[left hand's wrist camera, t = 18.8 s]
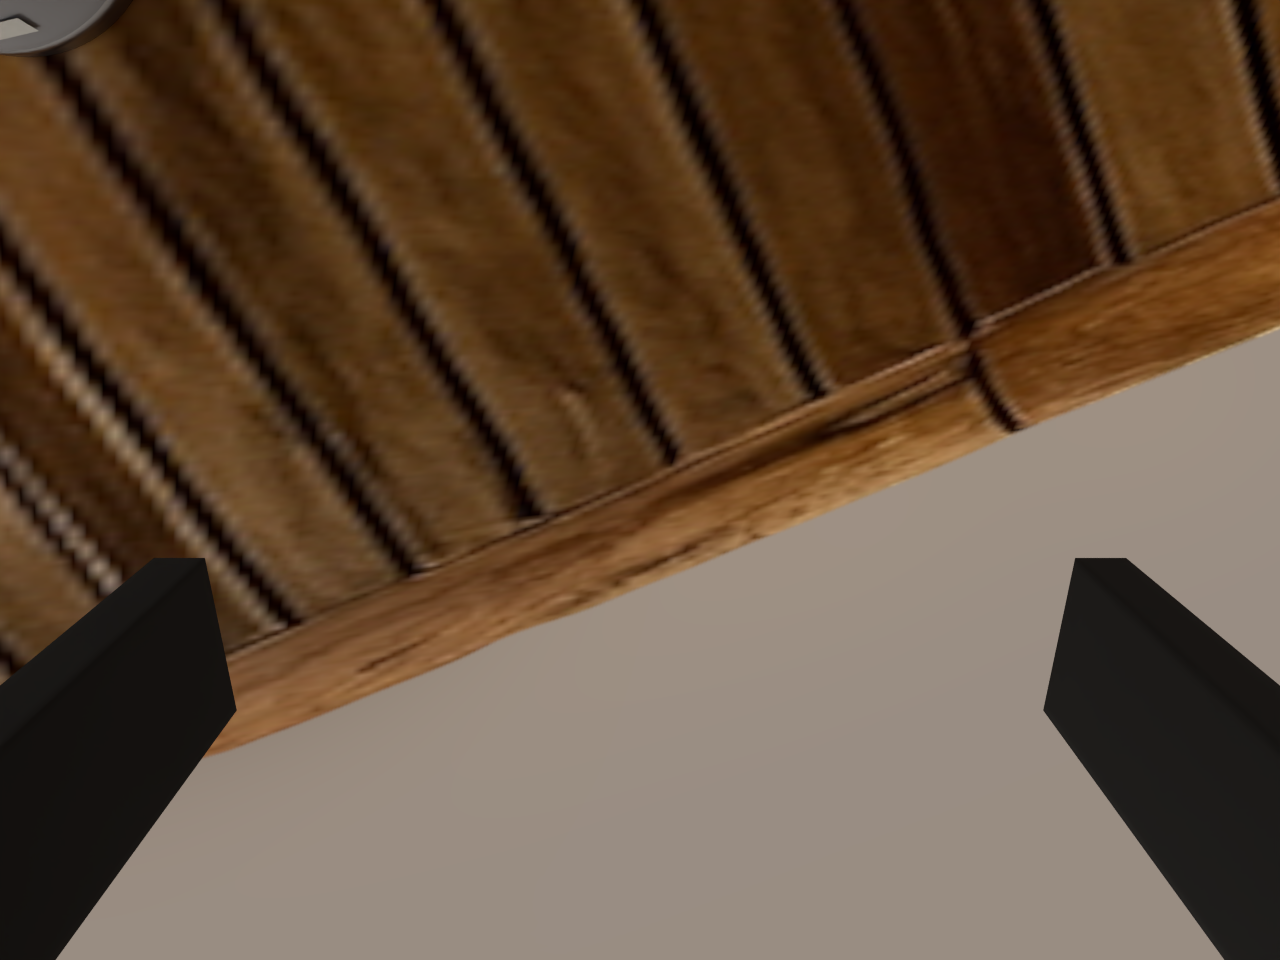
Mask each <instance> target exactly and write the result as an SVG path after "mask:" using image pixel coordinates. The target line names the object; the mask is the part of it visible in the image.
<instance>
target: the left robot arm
mask: <svg viewBox="0 0 1280 960" xmlns="http://www.w3.org/2000/svg"><path fill="white" fill-rule="evenodd" d="M132 1H133V0H0V55H8V56H16V57H38V56H48V55H53V54H58V53H62V52H65V51H68V50H71V49H74V48H77V47H79V46H81V45H83V44H85V43H87V42H89V41H91V40H93V39H94V38H96V37H97V36H99V35H100V34H102V33H103V32H104V31H106V30H107V29H108V28H109V27H110V26H111V25H113V24H114V23H115V22H116V21H117V19H118V18H119V17H120V16H121V15H122V14H123V13H124V12H125V10H126V9H127V8H128V6H129V5H130V3H131V2H132ZM236 711H237V710H236V705H235V700H234V695H233V691H232V686H231V681H230V676H229V672H228V667H227V662H226V657H225V652H224V648H223V643H222V638H221V633H220V629H219V624H218V619H217V614H216V609H215V605H214V600H213V595H212V590H211V586H210V581H209V576H208V571H207V567H206V562H205V558H153V559H152V560H151V561H150V562H149V563H147V564H146V565H145V566H144V567H143V568H141V569H140V570H139V571H138V572H137V573H135V574H134V575H133V576H132V577H131V578H129V579H128V580H127V581H126V582H125V583H123V584H122V585H121V586H120V587H119V588H117V589H116V590H115V591H114V592H113V593H111V594H110V595H109V596H108V597H106V598H105V599H104V600H103V601H102V602H100V603H99V604H98V605H97V606H96V607H94V608H93V609H92V610H91V611H90V612H88V613H87V614H86V615H85V616H84V617H82V618H81V619H80V620H79V621H78V622H76V623H75V624H74V625H73V626H72V627H70V628H69V629H68V630H67V631H66V632H64V633H63V634H62V635H61V636H59V637H58V638H57V639H56V640H55V641H53V642H52V643H51V644H50V645H49V646H47V647H46V648H45V649H44V650H43V651H41V652H40V653H39V654H38V655H37V656H35V657H34V658H33V659H32V660H31V661H29V662H28V663H27V664H26V665H25V666H23V667H22V668H21V669H20V670H18V671H17V672H16V673H15V674H14V675H12V676H11V677H10V678H9V679H8V680H6V681H5V682H4V683H3V684H2V685H0V960H56V958H57V957H58V956H59V954H60V953H61V952H62V950H63V949H64V947H65V946H66V945H67V943H68V942H69V941H70V939H71V938H72V936H73V935H74V934H75V932H76V931H77V930H78V928H79V927H80V925H81V924H82V923H83V921H84V920H85V918H86V917H87V916H88V914H89V913H90V912H91V910H92V909H93V907H94V906H95V905H96V903H97V902H98V901H99V899H100V898H101V896H102V895H103V894H104V892H105V891H106V890H107V888H108V887H109V885H110V884H111V883H112V881H113V880H114V879H115V877H116V876H117V874H118V873H119V872H120V870H121V869H122V868H123V866H124V865H125V863H126V862H127V861H128V859H129V858H130V857H131V855H132V854H133V852H134V851H135V850H136V848H137V847H138V846H139V844H140V843H141V841H142V840H143V839H144V837H145V836H146V834H147V833H148V832H149V830H150V829H151V828H152V826H153V825H154V823H155V822H156V821H157V819H158V818H159V817H160V815H161V814H162V812H163V811H164V810H165V808H166V807H167V806H168V804H169V803H170V801H171V800H172V799H173V797H174V796H175V795H176V793H177V792H178V790H179V789H180V788H181V786H182V785H183V784H184V782H185V781H186V779H187V778H188V777H189V775H190V774H191V773H192V771H193V770H194V768H195V767H196V766H197V764H198V763H199V761H200V760H201V759H202V757H203V756H204V755H205V753H206V752H207V750H208V749H209V748H210V746H211V745H212V744H213V742H214V741H215V739H216V738H217V737H218V735H219V734H220V733H221V731H222V730H223V728H224V727H225V726H226V724H227V723H228V722H229V720H230V719H231V717H232V716H233V715H234V713H235V712H236ZM1044 712H1045V713H1046V715H1047V716H1048V717H1049V719H1050V720H1051V722H1052V723H1053V724H1054V726H1055V727H1056V728H1057V730H1058V731H1059V733H1060V734H1061V735H1062V737H1063V738H1064V739H1065V741H1066V742H1067V744H1068V745H1069V746H1070V748H1071V749H1072V750H1073V752H1074V753H1075V755H1076V756H1077V757H1078V759H1079V760H1080V762H1081V763H1082V764H1083V766H1084V767H1085V768H1086V770H1087V771H1088V772H1089V774H1090V775H1091V777H1092V778H1093V779H1094V781H1095V782H1096V784H1097V785H1098V786H1099V788H1100V789H1101V790H1102V792H1103V793H1104V795H1105V796H1106V797H1107V799H1108V800H1109V801H1110V803H1111V804H1112V806H1113V807H1114V808H1115V810H1116V811H1117V812H1118V814H1119V815H1120V817H1121V818H1122V819H1123V821H1124V822H1125V823H1126V825H1127V826H1128V828H1129V829H1130V830H1131V832H1132V833H1133V834H1134V836H1135V837H1136V839H1137V840H1138V841H1139V843H1140V844H1141V845H1142V847H1143V848H1144V850H1145V851H1146V852H1147V854H1148V855H1149V857H1150V858H1151V859H1152V861H1153V862H1154V863H1155V865H1156V866H1157V868H1158V869H1159V870H1160V872H1161V873H1162V874H1163V876H1164V877H1165V879H1166V880H1167V881H1168V883H1169V884H1170V885H1171V887H1172V888H1173V890H1174V891H1175V892H1176V894H1177V895H1178V896H1179V898H1180V899H1181V901H1182V902H1183V903H1184V905H1185V906H1186V907H1187V909H1188V910H1189V912H1190V913H1191V914H1192V916H1193V917H1194V918H1195V920H1196V921H1197V923H1198V924H1199V925H1200V927H1201V928H1202V930H1203V931H1204V932H1205V934H1206V935H1207V936H1208V938H1209V939H1210V941H1211V942H1212V943H1213V945H1214V946H1215V947H1216V949H1217V950H1218V952H1219V953H1220V954H1221V956H1222V957H1223V958H1224V960H1280V685H1278V684H1277V683H1276V682H1275V681H1274V680H1272V679H1271V678H1270V677H1269V676H1268V675H1266V674H1265V673H1264V672H1263V671H1261V670H1260V669H1259V668H1258V667H1257V666H1255V665H1254V664H1253V663H1252V662H1251V661H1249V660H1248V659H1247V658H1246V657H1245V656H1243V655H1242V654H1241V653H1240V652H1239V651H1237V650H1236V649H1235V648H1234V647H1233V646H1231V645H1230V644H1229V643H1228V642H1227V641H1225V640H1224V639H1223V638H1222V637H1220V636H1219V635H1218V634H1217V633H1216V632H1214V631H1213V630H1212V629H1211V628H1210V627H1208V626H1207V625H1206V624H1205V623H1204V622H1202V621H1201V620H1200V619H1199V618H1198V617H1196V616H1195V615H1194V614H1193V613H1192V612H1190V611H1189V610H1188V609H1187V608H1186V607H1184V606H1183V605H1182V604H1181V603H1180V602H1178V601H1177V600H1176V599H1175V598H1174V597H1172V596H1171V595H1170V594H1169V593H1167V592H1166V591H1165V590H1164V589H1163V588H1161V587H1160V586H1159V585H1158V584H1157V583H1155V582H1154V581H1153V580H1152V579H1151V578H1149V577H1148V576H1147V575H1146V574H1144V573H1143V572H1142V571H1141V570H1140V569H1139V568H1137V567H1136V566H1135V565H1134V564H1132V563H1131V562H1130V561H1129V560H1128V559H1127V558H1075V562H1074V567H1073V571H1072V576H1071V581H1070V586H1069V590H1068V595H1067V600H1066V605H1065V610H1064V614H1063V619H1062V624H1061V629H1060V633H1059V638H1058V643H1057V648H1056V652H1055V657H1054V662H1053V667H1052V672H1051V676H1050V681H1049V686H1048V691H1047V695H1046V700H1045V705H1044Z"/></svg>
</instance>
